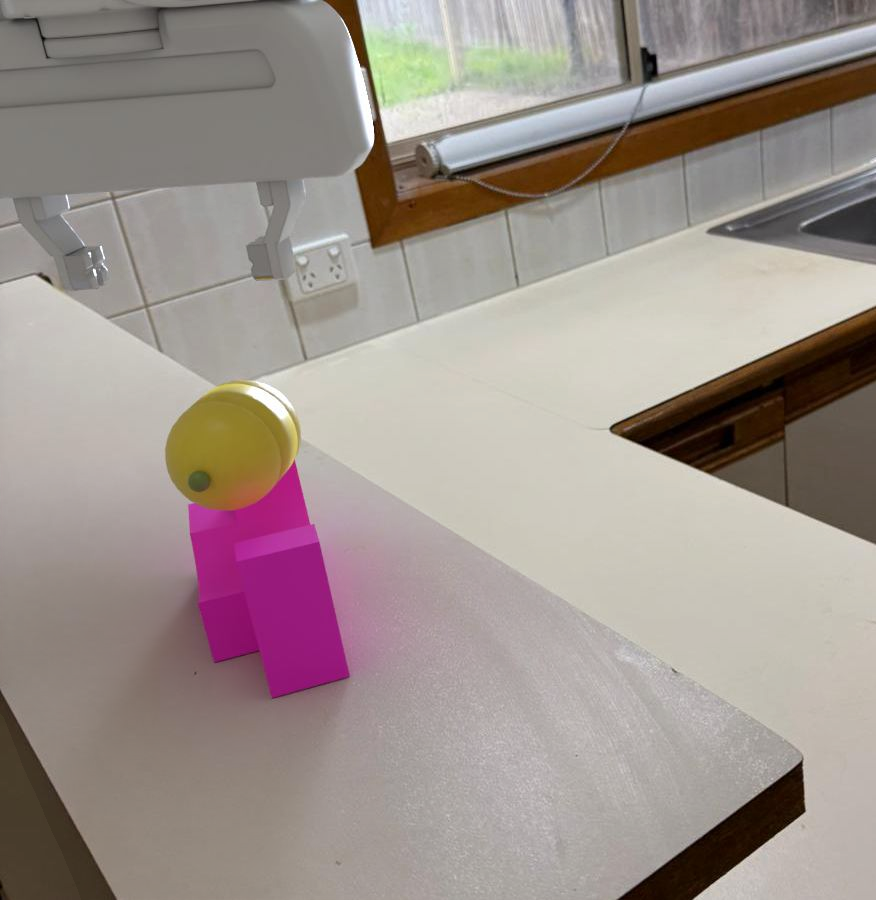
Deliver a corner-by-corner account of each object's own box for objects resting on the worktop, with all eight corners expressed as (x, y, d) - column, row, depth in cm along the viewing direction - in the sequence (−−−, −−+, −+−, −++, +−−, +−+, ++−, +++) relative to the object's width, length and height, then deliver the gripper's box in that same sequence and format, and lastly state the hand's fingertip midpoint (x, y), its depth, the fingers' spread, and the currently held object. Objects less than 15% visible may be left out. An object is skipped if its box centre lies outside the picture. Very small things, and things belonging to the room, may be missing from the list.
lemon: (258, 544, 54) (247, 435, 51) (144, 533, 54) (128, 426, 52) (325, 457, 63) (318, 361, 60) (226, 449, 63) (216, 354, 61)
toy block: (206, 572, 67) (175, 456, 64) (313, 546, 69) (287, 432, 66) (218, 713, 54) (179, 575, 51) (349, 676, 56) (319, 541, 53)
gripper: (-169, -10, 47) (-63, 313, 52) (307, -55, 44) (365, 290, 50) (-71, -16, 53) (15, 276, 58) (356, -56, 50) (403, 254, 55)
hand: (180, 282), depth 54 cm, fingers open, 8 cm apart
